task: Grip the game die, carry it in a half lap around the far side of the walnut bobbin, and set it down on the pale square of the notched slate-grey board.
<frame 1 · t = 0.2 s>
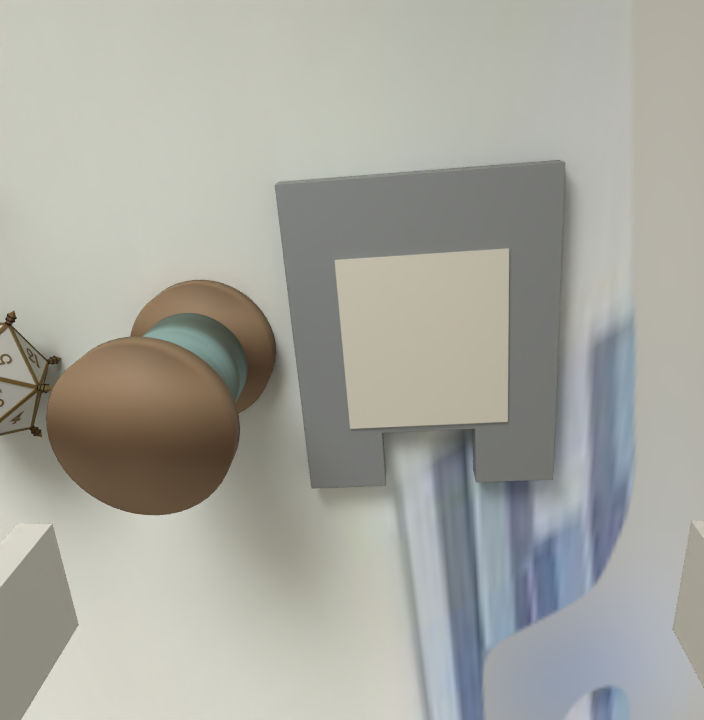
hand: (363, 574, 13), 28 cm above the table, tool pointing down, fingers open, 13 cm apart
notched board: (423, 335, 41), on the table
game die: (18, 356, 43), on the table
bobbin: (206, 347, 42), on the table
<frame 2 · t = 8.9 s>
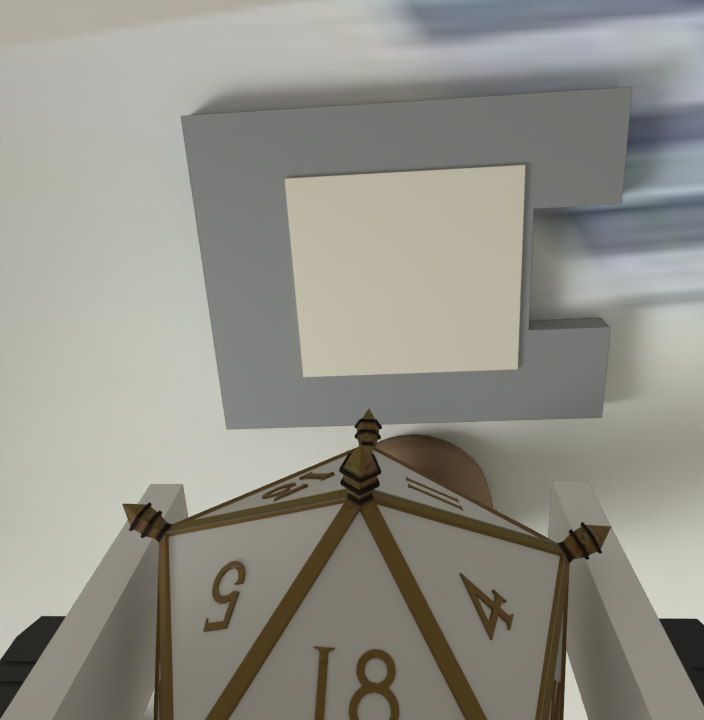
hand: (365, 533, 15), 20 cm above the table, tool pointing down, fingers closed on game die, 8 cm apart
notched board: (405, 270, 33), on the table
game die: (365, 520, 15), point 20 cm above the table, touching gripper
bobbin: (412, 502, 38), on the table
when the fingers open (3 cm above the table, at t = 13.0 s): game die drops 1 cm, resting on notched board.
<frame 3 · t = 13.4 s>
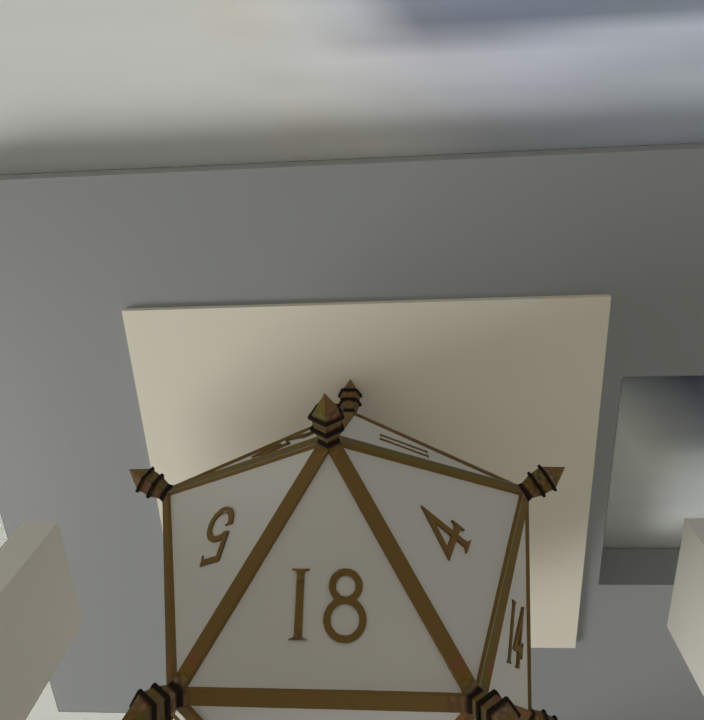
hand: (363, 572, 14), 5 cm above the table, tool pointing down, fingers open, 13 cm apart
notched board: (370, 459, 18), on the table
game die: (355, 485, 16), point 1 cm above the table, touching notched board
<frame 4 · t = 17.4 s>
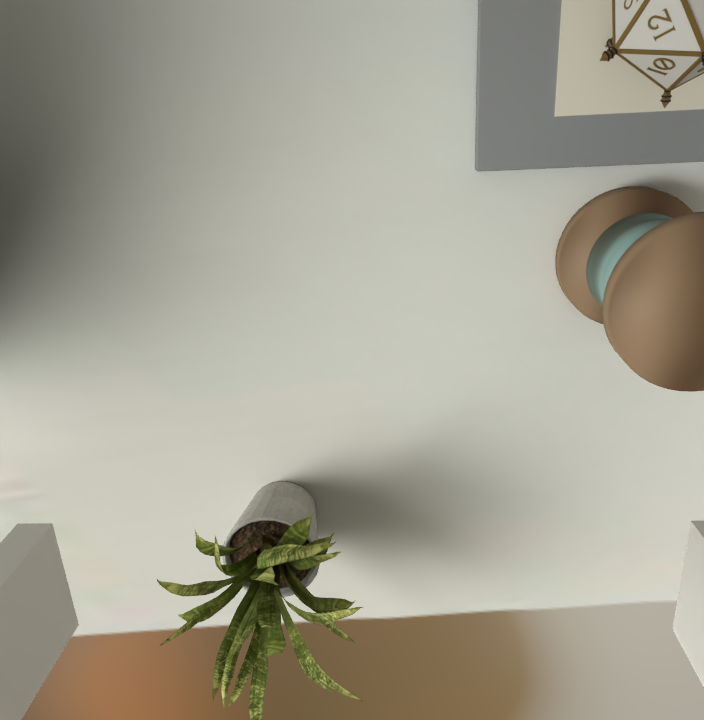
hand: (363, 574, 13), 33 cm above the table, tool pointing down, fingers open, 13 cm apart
house plant: (294, 519, 53), on the table
notched board: (649, 20, 38), on the table
game die: (653, 15, 37), point 1 cm above the table, touching notched board
bobbin: (624, 255, 43), on the table
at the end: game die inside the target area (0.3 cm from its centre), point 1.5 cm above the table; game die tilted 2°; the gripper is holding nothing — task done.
